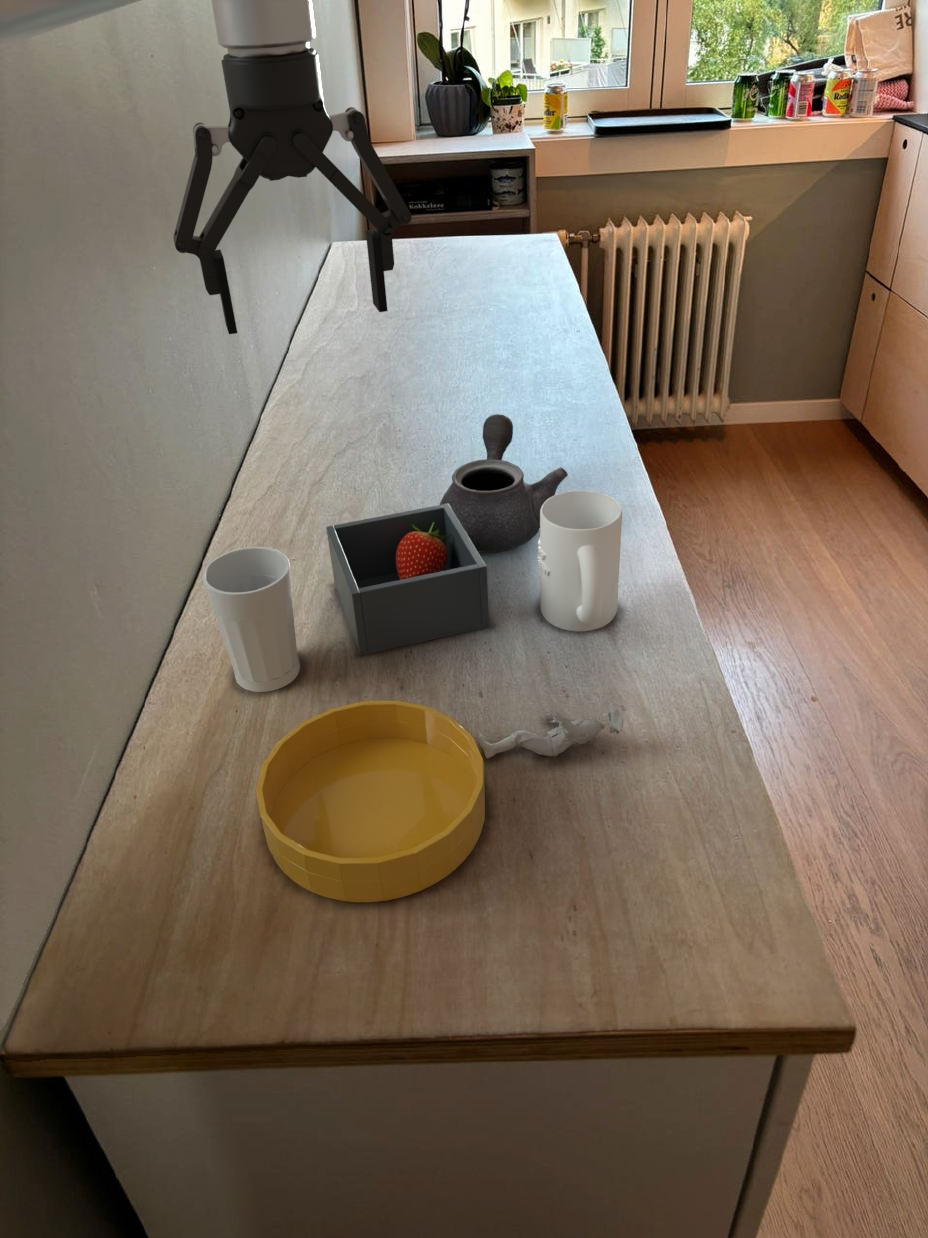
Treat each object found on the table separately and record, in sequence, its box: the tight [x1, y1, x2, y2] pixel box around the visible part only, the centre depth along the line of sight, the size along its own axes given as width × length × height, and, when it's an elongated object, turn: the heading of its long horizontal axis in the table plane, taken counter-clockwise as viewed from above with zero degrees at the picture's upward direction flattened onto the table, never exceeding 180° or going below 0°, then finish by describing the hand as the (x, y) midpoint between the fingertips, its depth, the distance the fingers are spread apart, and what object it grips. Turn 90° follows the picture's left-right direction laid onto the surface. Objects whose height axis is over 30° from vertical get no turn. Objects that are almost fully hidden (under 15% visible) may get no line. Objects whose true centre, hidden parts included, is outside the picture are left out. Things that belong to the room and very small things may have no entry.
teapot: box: [439, 413, 569, 553], centre depth 116 cm, size 19×15×10 cm
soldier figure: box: [477, 702, 624, 760], centre depth 85 cm, size 8×5×12 cm
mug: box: [537, 489, 623, 632], centre depth 98 cm, size 8×12×12 cm
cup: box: [201, 546, 301, 693], centre depth 93 cm, size 8×8×12 cm
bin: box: [325, 504, 490, 656], centre depth 103 cm, size 14×14×8 cm
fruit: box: [396, 522, 452, 580], centre depth 105 cm, size 5×5×8 cm
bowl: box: [255, 699, 486, 903], centre depth 80 cm, size 18×18×4 cm
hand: (307, 318), depth 89 cm, fingers open, 13 cm apart
